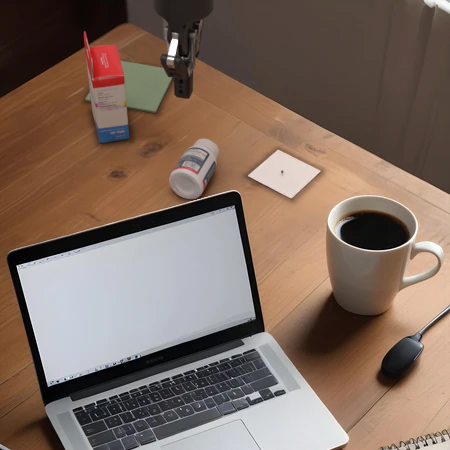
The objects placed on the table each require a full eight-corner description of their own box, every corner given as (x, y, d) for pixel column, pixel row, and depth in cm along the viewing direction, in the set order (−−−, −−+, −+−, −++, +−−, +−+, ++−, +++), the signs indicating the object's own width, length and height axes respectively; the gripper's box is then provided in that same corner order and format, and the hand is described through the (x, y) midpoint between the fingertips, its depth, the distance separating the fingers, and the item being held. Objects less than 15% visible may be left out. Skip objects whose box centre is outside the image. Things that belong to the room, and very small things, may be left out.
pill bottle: (182, 204, 123) (204, 168, 129) (208, 195, 120) (230, 158, 125) (161, 176, 121) (184, 140, 126) (187, 166, 117) (210, 130, 123)
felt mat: (85, 101, 137) (85, 99, 136) (109, 60, 144) (108, 58, 144) (155, 113, 135) (155, 111, 135) (176, 71, 142) (175, 69, 142)
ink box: (130, 140, 131) (124, 57, 119) (99, 144, 130) (89, 61, 118) (121, 107, 136) (114, 25, 124) (91, 111, 135) (81, 29, 123)
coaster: (321, 171, 127) (321, 167, 126) (291, 198, 123) (291, 194, 122) (278, 149, 130) (278, 145, 129) (247, 175, 126) (247, 171, 125)
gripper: (168, -59, 104) (170, 63, 117) (136, -6, 95) (142, 119, 109) (227, -50, 103) (222, 72, 116) (199, 4, 95) (197, 129, 108)
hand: (183, 95), depth 112 cm, fingers closed
